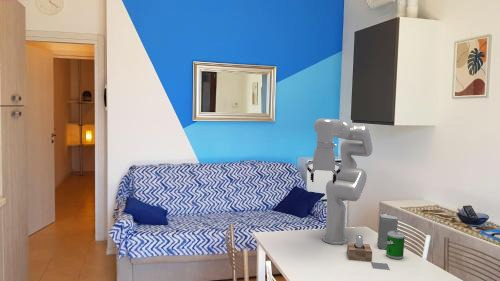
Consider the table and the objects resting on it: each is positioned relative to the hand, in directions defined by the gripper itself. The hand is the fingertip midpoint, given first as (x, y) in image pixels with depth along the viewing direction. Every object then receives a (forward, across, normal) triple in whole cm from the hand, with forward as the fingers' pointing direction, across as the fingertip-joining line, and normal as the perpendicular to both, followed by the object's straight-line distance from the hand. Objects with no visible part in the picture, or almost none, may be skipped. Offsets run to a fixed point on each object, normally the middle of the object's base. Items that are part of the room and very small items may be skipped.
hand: (323, 182), depth 183 cm
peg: (+33, -18, +3) cm, 38 cm away
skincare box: (+34, -33, -14) cm, 49 cm away
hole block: (+33, -18, +3) cm, 38 cm away
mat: (+33, -26, +12) cm, 44 cm away
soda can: (+34, -34, -1) cm, 48 cm away
